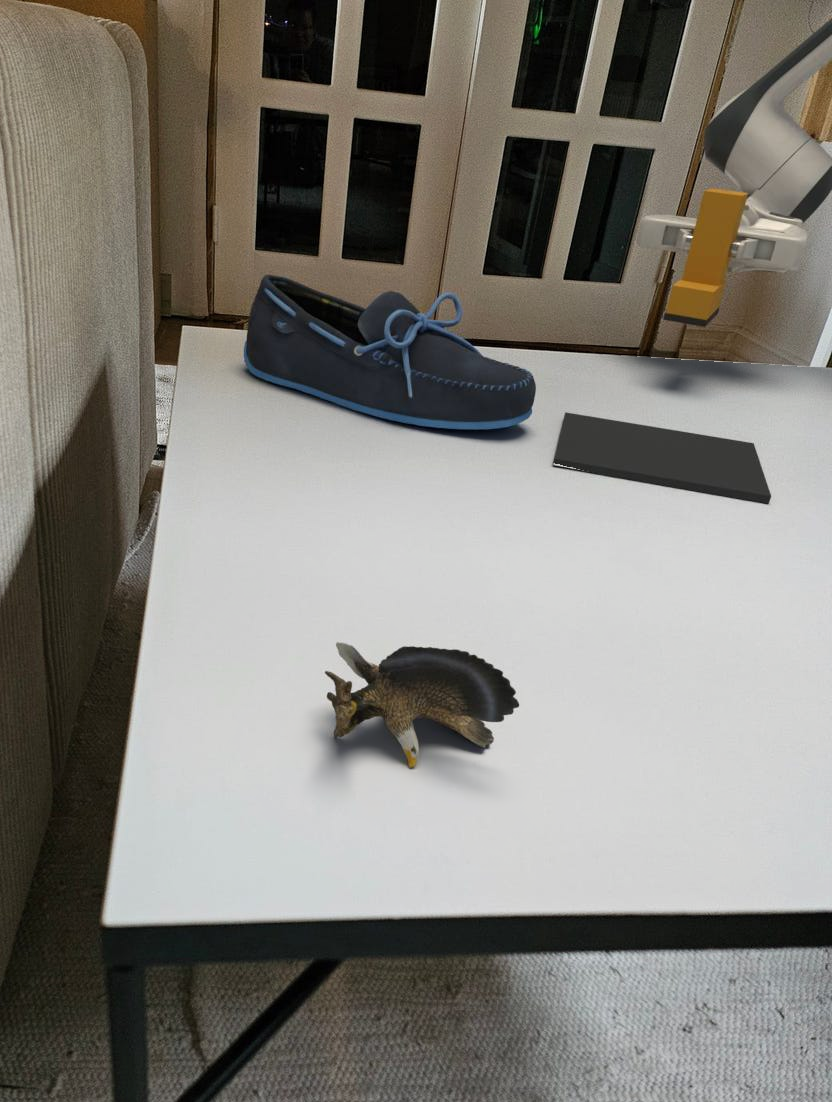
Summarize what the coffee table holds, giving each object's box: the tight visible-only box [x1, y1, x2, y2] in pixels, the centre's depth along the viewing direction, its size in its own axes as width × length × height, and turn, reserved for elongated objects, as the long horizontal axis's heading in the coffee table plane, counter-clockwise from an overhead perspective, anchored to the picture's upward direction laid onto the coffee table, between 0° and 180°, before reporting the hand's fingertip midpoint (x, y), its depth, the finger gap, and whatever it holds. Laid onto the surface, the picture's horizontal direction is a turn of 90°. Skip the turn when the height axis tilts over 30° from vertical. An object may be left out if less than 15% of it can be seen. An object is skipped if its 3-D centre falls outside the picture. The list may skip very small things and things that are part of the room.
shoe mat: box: [552, 411, 772, 505], centre depth 95 cm, size 20×16×1 cm
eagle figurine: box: [324, 641, 520, 768], centre depth 49 cm, size 8×7×9 cm
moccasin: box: [243, 274, 537, 430], centre depth 100 cm, size 14×34×12 cm, turn 65°
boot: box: [663, 187, 748, 328], centre depth 113 cm, size 10×5×14 cm, turn 153°
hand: (711, 246), depth 114 cm, fingers closed on boot, 4 cm apart
